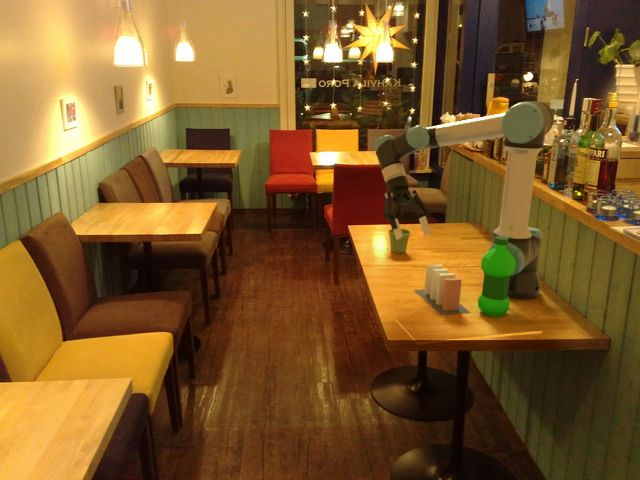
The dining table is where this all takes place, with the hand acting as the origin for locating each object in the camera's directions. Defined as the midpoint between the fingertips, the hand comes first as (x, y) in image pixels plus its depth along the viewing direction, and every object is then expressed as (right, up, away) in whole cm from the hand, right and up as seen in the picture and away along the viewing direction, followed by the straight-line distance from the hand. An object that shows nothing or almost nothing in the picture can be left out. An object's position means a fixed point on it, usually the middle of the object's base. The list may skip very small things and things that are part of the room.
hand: (414, 236), depth 206 cm
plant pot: (+1, -6, +46) cm, 47 cm away
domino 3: (+8, -22, -9) cm, 25 cm away
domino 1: (+6, -19, -1) cm, 20 cm away
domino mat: (+8, -22, -7) cm, 24 cm away
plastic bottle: (+22, -25, -15) cm, 36 cm away
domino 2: (+7, -20, -5) cm, 22 cm away
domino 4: (+9, -23, -14) cm, 28 cm away
